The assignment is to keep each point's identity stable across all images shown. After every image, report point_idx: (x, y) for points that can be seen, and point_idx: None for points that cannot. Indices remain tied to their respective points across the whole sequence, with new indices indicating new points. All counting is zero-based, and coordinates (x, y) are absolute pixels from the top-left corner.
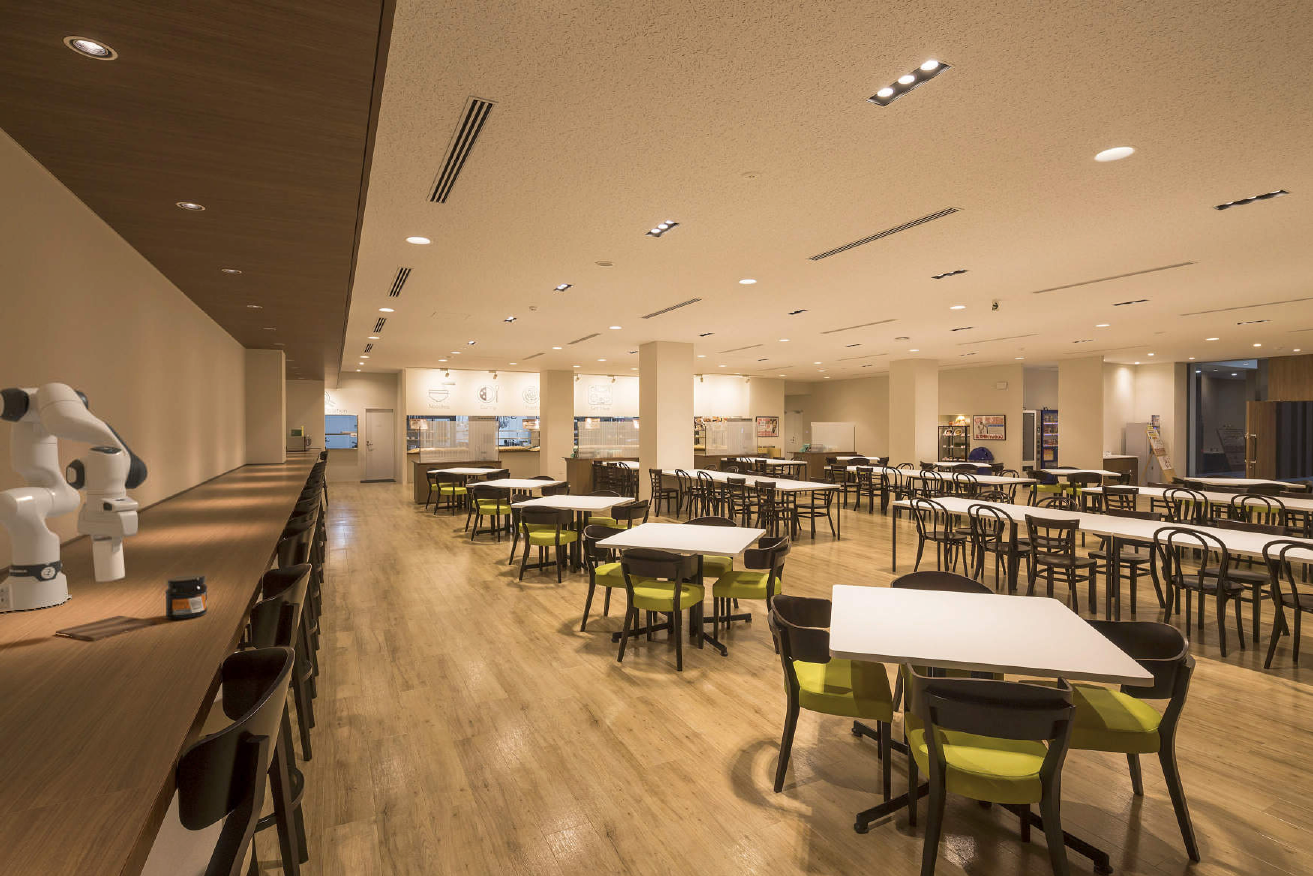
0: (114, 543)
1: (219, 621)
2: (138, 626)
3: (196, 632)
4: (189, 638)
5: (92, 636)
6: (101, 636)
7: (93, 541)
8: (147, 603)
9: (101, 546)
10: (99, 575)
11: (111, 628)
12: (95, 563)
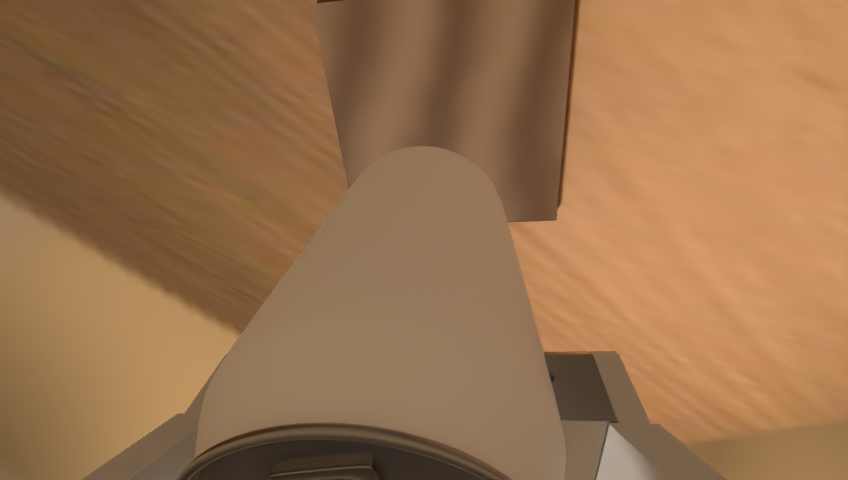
0: (128, 457)
1: (231, 301)
2: (346, 172)
3: (155, 217)
4: (97, 173)
5: (333, 9)
6: (319, 36)
7: (673, 474)
8: (653, 346)
9: (243, 348)
10: (389, 162)
11: (393, 111)
12: (409, 193)
